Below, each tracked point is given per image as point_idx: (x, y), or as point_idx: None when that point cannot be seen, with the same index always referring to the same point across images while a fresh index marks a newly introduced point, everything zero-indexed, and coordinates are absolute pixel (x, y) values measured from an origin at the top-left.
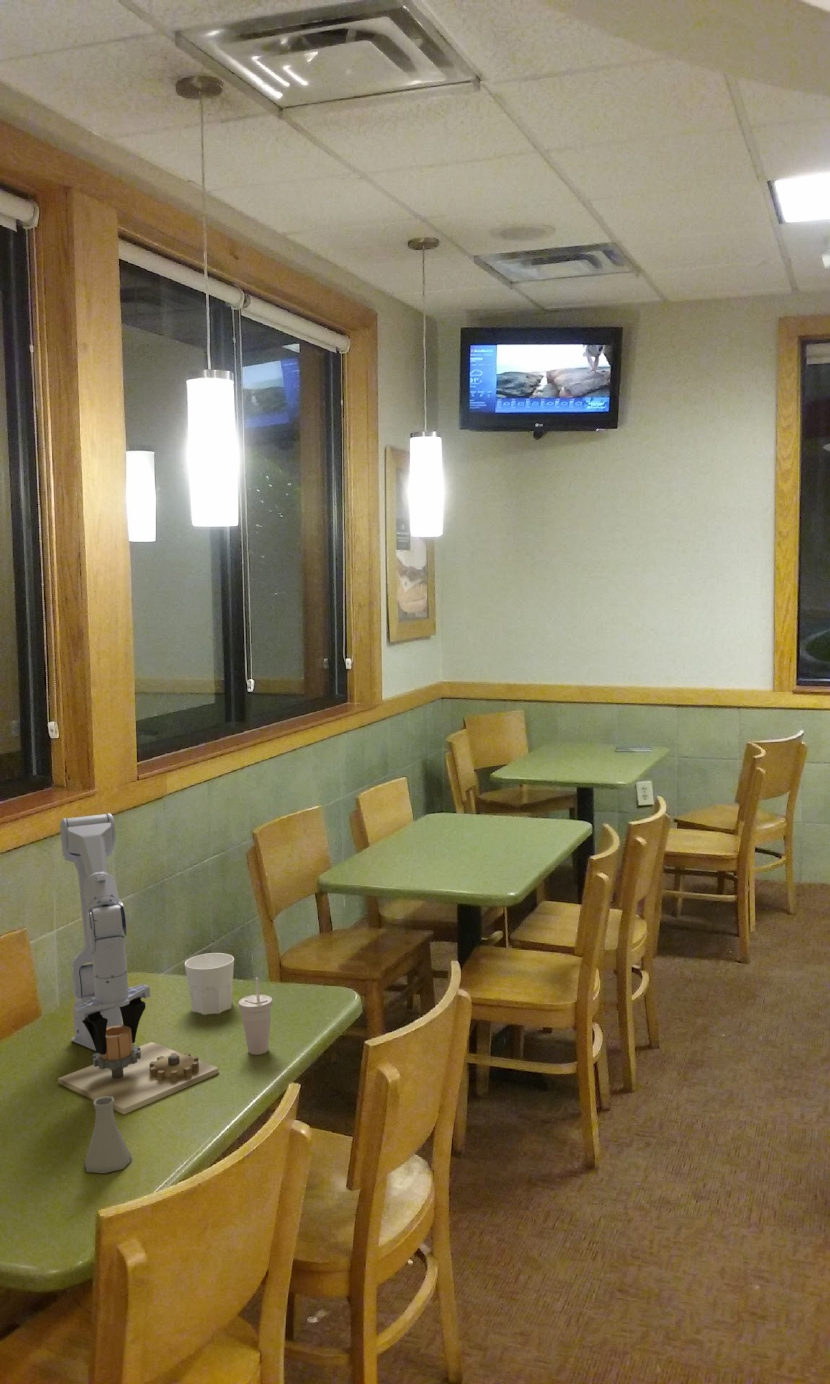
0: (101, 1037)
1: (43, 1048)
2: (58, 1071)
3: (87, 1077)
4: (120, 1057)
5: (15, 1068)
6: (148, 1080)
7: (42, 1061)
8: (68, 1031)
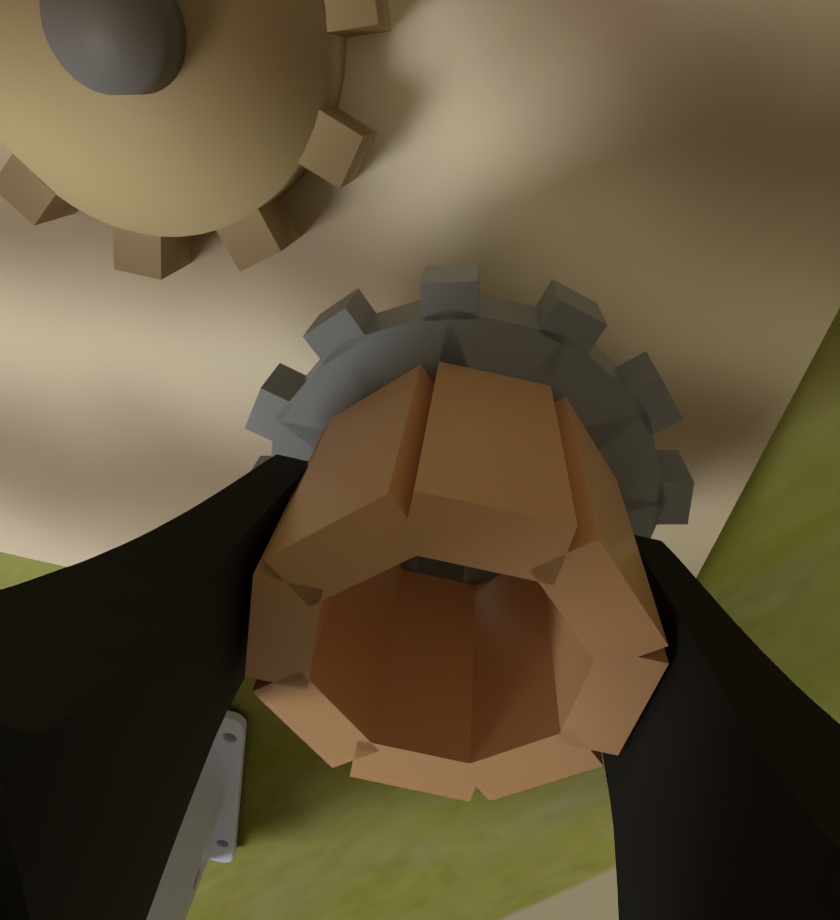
0: (782, 685)
1: (343, 892)
2: None
3: None
4: (549, 397)
5: (549, 884)
6: (430, 117)
7: (443, 842)
8: None
